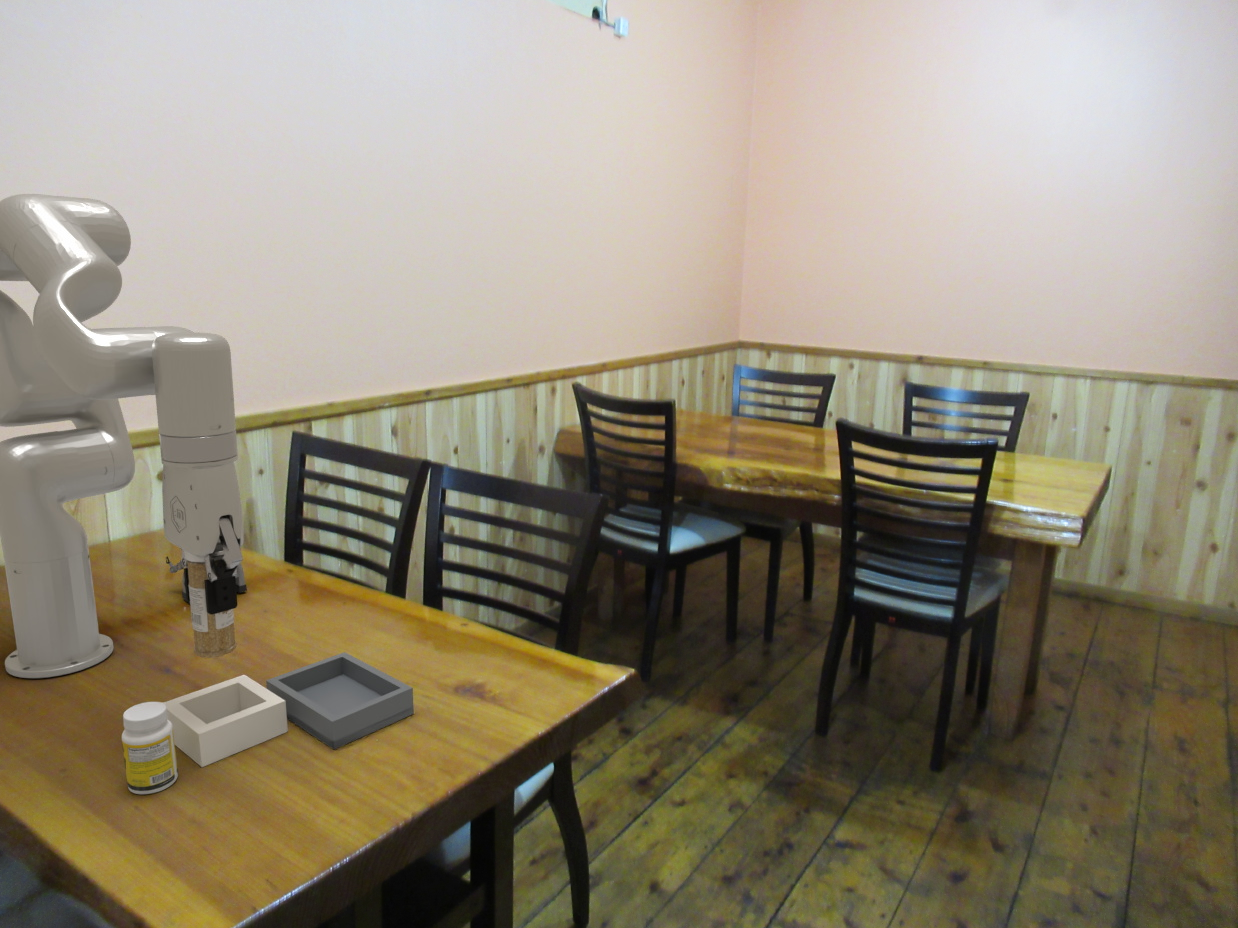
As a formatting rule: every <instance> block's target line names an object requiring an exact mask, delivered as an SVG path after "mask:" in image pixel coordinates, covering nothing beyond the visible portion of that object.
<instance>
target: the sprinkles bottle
mask: <svg viewBox="0 0 1238 928" xmlns="http://www.w3.org/2000/svg"><path fill="white" fill-rule="evenodd" d="M220 549H223V547H222V545H217V546H216V547H215V550H214V551H216V550H220ZM184 551H185V550H184ZM223 557H224V555H223V556H219V557H214V562H215V566H216V564H217V563H218V561H219V560H222V559H223ZM185 559H186V562H187V564H188V565H187V566H188V576H189V595H190V604H189V605H190V617H191V625H192V626H191V627H192V629H193V639H194V647H193V653H194V655H196V656H197V657H199V658H204V659H205V658H206V659H212V658H213V659H214V658H220V657H223V656H226V655H229V654H231V653H232V652H233V651H235V649H237V645H238V644H237V640H236V635H235V623H234V620H235V615H234V609H231V610H227V611H224V612H220V613H217V614H213V615H211V614H209V613H207V607H206V595H205V583H204V580H207V579H208V576H207V570H206V565H205V559H204V557H203V558H200V557H197V556H195V555H193V554H191V553H189V552H187V551H185Z"/></svg>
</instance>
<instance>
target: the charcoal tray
mask: <svg viewBox="0 0 1238 928" xmlns="http://www.w3.org/2000/svg"><path fill="white" fill-rule="evenodd" d="M265 684H266V685H265V686H266V689H268V690H269V691H271V692H272V693H274V694H276V695H277V696H279V697H280V698H282V699H283V700H285V701H286V715H287V721H290V722H292V723H293V724H295V726H297V727H299V728H301V729H302V730H304V731H305V732H306V733H308V734H309V735H311V736H313V737H314V738H315V739H317V740H319V741H320V742H322V743H323V744H325V745H326V746H327V747H329V748H330V749H332V750H337V749H339V748H340V747H342V746H346V745H348V744H350V743H352V742H355V741H356V740H358V739H361V738H363V737H365V736H367V735H370V734H372V733H375V732H376V731H378V730H381V729H383V728H385V727H387V726H388V727H389V726H390V725H392V724H394V723H396V722H398V721H401V720H403V719H406V718H408V717H409V716H412V715H414V713H415V711H414V709H415V708H414V707H415V706H414V691H413V690H414V687H413V686H410V685H408V684H406V683H405V682H403V681H401V680H399V679H397V678H395V677H393V676H391V675H389V674H387V673H385V672H383V671H382V670H379V669H378V668H376V667H374V666H372V665H371V664H368V663H366V662H364V661H362V660H360V659H359V658H357V657H354V656H353V655H351V654H349V653H347V652H345V651H344V652H342V653H341V652H340V653H338V654H336V655H333V656H330V657H327V658H325V659H322V660H319V661H315V662H313V663H311V664H308V665H305V666H302V667H300V668H296V669H294V670H292V671H288V672H285V673H282V674H279V675H277V676H274V677H272V678H269V679H266V680H265Z"/></svg>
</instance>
